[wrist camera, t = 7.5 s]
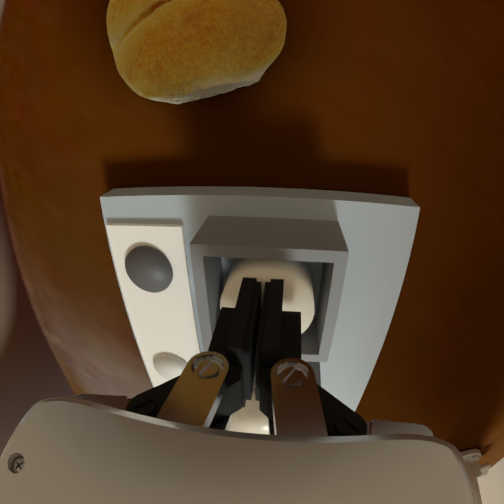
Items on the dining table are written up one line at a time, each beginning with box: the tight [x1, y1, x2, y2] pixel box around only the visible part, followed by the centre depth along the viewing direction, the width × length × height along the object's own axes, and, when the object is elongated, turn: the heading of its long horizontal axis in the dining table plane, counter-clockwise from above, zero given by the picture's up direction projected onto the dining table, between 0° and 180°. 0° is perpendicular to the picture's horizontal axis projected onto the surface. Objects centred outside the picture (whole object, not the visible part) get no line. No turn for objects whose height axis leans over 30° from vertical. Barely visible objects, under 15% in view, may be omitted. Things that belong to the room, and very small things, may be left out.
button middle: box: [229, 388, 269, 435], centre depth 16 cm, size 4×4×2 cm
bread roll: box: [106, 0, 287, 104], centre depth 9 cm, size 8×9×4 cm
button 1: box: [220, 258, 315, 334], centre depth 14 cm, size 4×4×2 cm
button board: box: [100, 186, 420, 431], centre depth 18 cm, size 16×24×4 cm, turn 1°
